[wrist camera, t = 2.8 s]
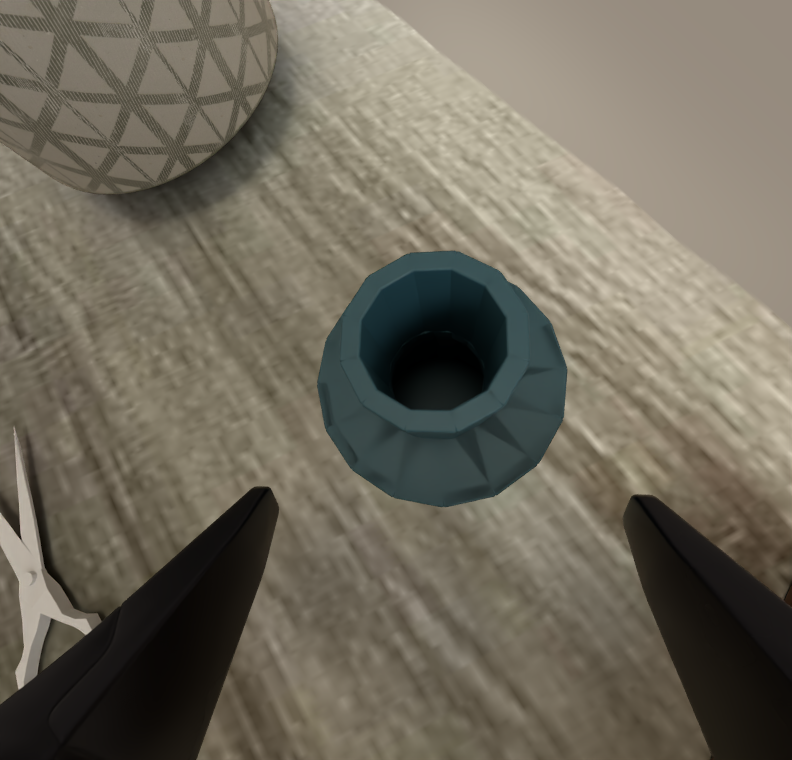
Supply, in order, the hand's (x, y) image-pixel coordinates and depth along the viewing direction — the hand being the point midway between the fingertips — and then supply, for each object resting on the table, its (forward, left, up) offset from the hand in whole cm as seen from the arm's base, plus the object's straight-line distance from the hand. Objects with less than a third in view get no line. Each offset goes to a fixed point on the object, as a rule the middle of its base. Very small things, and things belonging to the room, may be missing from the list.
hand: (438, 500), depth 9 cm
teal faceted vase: (+3, +2, -10) cm, 11 cm away
